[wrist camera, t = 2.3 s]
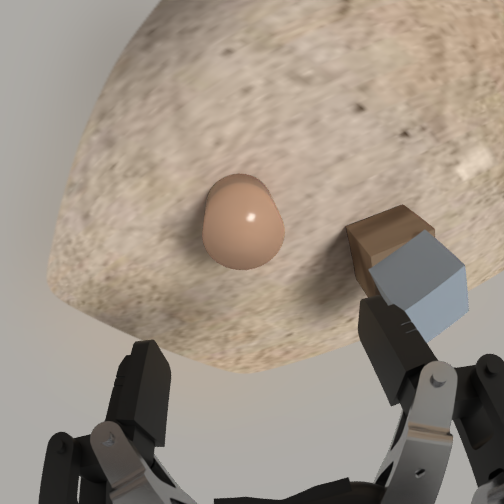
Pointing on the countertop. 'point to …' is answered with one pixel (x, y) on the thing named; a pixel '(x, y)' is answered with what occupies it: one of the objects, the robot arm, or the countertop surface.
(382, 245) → the tower base
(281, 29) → the countertop surface
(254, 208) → the tan rounded cylinder
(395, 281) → the tower top
